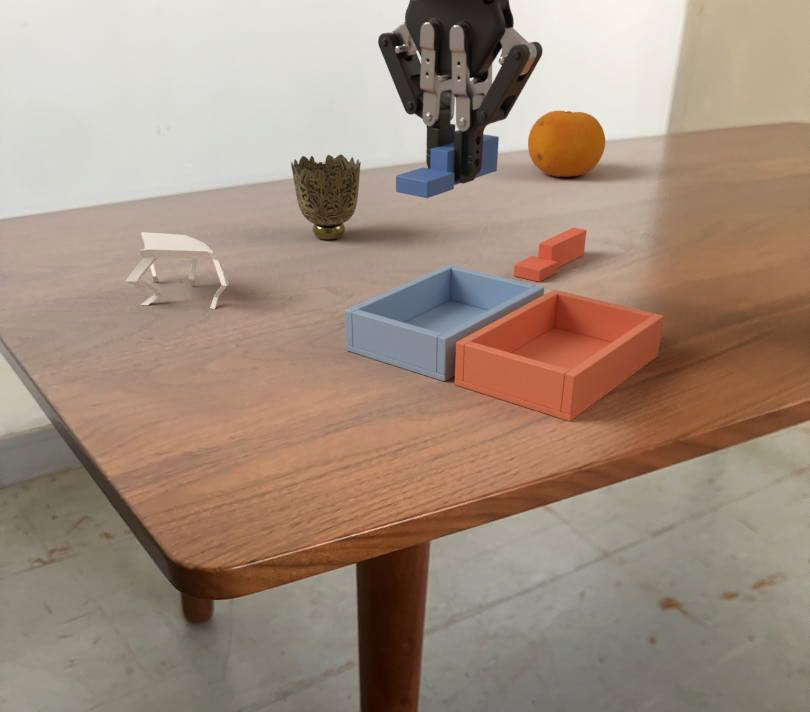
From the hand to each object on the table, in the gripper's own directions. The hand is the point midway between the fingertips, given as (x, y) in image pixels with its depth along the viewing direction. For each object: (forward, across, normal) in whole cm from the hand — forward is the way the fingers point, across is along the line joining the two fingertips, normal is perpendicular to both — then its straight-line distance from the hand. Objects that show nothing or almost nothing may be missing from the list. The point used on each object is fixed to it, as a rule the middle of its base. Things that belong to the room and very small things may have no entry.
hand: (453, 178), depth 71 cm
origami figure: (+13, +26, +7) cm, 30 cm away
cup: (+13, +28, -16) cm, 34 cm away
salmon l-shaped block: (+13, +2, -23) cm, 26 cm away
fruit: (+13, +22, -58) cm, 63 cm away
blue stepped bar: (0, 0, 0) cm, 1 cm away
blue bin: (+13, 0, 0) cm, 13 cm away
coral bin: (+13, -11, 0) cm, 17 cm away
